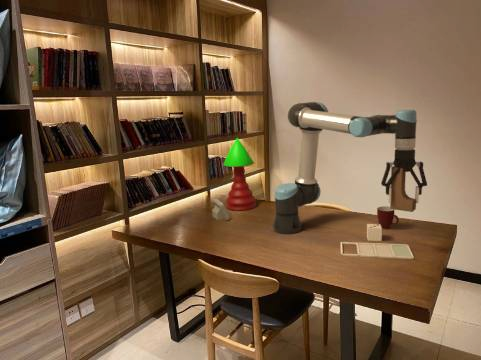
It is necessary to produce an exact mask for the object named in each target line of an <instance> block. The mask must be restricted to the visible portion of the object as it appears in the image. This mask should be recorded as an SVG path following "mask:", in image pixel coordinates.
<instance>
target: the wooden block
mask: <svg viewBox="0 0 481 360" xmlns="http://www.w3.org/2000/svg"><path fill="white" fill-rule="evenodd" d="M397 169H398V168H396V167H395V166H394V165H392V167H391V168H390V171H391V172H390V173H391V174H390V177H392V175H393V174H394V173H395V171H396V170H397ZM406 174H407V172H405V171H404V172H403V167H402V168H400V172H399V173H398V174H397V176H396V177H395V179H394V180H393V182H392V184H391V185H390V186H391V203H389V204H390V206H389V207H390V209H394V211H395V210H396V211H403V212H409V213H412V212H415V210H416V209H417V203H416V199H415V198H414V197H411V196H409V195H408V194H407V193H406Z"/></svg>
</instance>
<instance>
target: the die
mask: <svg viewBox="0 0 481 360" xmlns="http://www.w3.org/2000/svg"><path fill="white" fill-rule="evenodd" d="M382 230H383V228H381V225H380V224H379V223H378V224H377V223H367V224H366V238H367V241H370V242H372V241H374V242H382V240H383V239H382V238H383V237H382V236H383V234H382V233H383V231H382Z"/></svg>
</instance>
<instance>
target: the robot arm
mask: <svg viewBox="0 0 481 360" xmlns="http://www.w3.org/2000/svg"><path fill="white" fill-rule="evenodd" d="M287 119H288V122H289V124H290V125H292V126H293V127H295V128H299V130H300V131H301V139H300V152H299V163H298V164H299V165H298V175H297V177H296V178H294V183H292V182H287V183H282V184H280V185H278V186H276V187H275V189H274V201H275V202H274V203H275V217H274V220H273V224H272V230H273V232H275V233H278V234H285V235H286V234H287V235H290V234H296V233H299V232H301V231H302V230H303V224H302V220H301V218H300V215H299V207H303V206H306V205H310V204H313V203H315V202H316V201H318V199H319V198H320V196H321V187H320V185H319V183H318V179H316V177H315V176H316V168H317V157H318V148H319V138H320V137H319V136H320V133H321V132H322V131H323V130H326V131H330V132H332V131H333V132H336V133H344V134H349V135H351V136H353V137H355V138H364V137H370V136H375V135H381V134H389V135H390V134H392V135H393V134H394V136H395V137H394V148H395V149H394V160H393V161H390V162H389V161H386V163H385V166H386V167H385V170H384V174H383V177H382V179H381V184H380V185H381V186H382V187H385V194H386V196H388V197H387V198H388V199H387V200H388V201H387V202H388V203H389V204H390V203H391V184H392V182H393V180H394V179H395V177H396V176H397V174H398V173H399V172H400V168H402V167H403V172H404V171H405V172H406V173H408V172H409V173H410V175H411V176H412V177H413V179H414V181H415V183H416V184H417V185H415V192H414V193H415V195H414V196H415V198H414V199H416V204H419V200H420V196H422V193H423V187H427V186H428V181H427V179H426V174H425V170H424V162H423V161H416V150H415V148H416V138H417V137H416V135H417V123H418V120H417V110H415V109H398V110H396V112H395V114H388V115H387V114H375V115H374V114H373V115H371V116H357V115H351V114H343V113H335V112H329V109H328V107H326V105H325V104H324V103H322V102H319V101H312V102H311V101H310V102H298V103H295V104H293V105H292V106H291V107H290V108H289V110H288V112H287ZM393 166H395V167H396V168H398V169H397V170H396V171H395V173H394V174H393V175H392V177H391V176H390V177H389V175H390V171H391V168H392V167H393ZM414 167H417V168H418V171H419V175H420V179H421V181H420V180H419V178H418V176H417V174H416V172H415V171H414ZM388 177H389V179H388Z"/></svg>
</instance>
